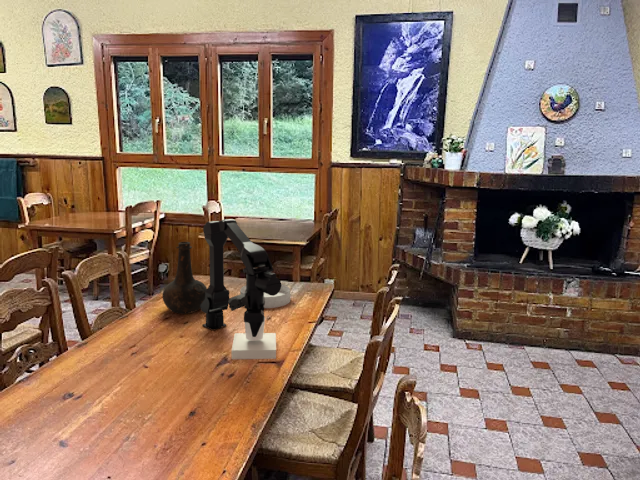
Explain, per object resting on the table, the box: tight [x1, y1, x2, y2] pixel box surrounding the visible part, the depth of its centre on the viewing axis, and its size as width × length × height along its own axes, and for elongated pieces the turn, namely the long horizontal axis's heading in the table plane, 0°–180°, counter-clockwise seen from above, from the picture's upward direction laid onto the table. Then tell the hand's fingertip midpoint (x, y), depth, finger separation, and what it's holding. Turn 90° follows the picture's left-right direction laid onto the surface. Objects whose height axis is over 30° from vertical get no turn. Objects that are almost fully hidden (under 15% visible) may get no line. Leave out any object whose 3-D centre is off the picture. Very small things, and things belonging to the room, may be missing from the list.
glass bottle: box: [162, 241, 208, 315], centre depth 192 cm, size 18×18×28 cm
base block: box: [231, 332, 277, 360], centre depth 159 cm, size 14×14×3 cm
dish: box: [239, 283, 291, 309], centre depth 211 cm, size 22×22×5 cm
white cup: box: [244, 315, 266, 341], centre depth 158 cm, size 7×7×7 cm
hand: (254, 332), depth 159 cm, fingers closed on white cup, 6 cm apart
